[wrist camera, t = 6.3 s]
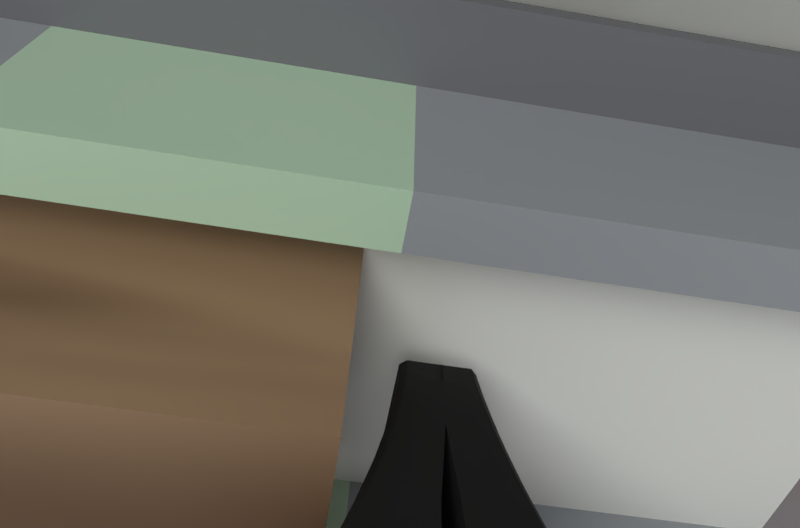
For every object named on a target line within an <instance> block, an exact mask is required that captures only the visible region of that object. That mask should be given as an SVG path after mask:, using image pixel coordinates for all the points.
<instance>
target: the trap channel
mask: <svg viewBox="0 0 800 528" xmlns="http://www.w3.org/2000/svg"><path fill="white" fill-rule="evenodd" d="M0 194H1V195H8V196H15V197H21V198H28V199H35V200H42V201H49V202H55V203H62V204H69V205H76V206H83V207H89V208H96V209H103V210H110V211H117V212H123V213H130V214H137V215H144V216H151V217H157V218H164V219H171V220H178V221H184V222H191V223H198V224H205V225H212V226H218V227H225V228H232V229H239V230H246V231H252V232H259V233H266V234H273V235H280V236H286V237H293V238H300V239H307V240H314V241H320V242H327V243H334V244H341V245H348V246H354V247H361V248H364V251H363V259H362V268H361V276H360V284H359V293H358V301H357V309H356V318H355V326H354V334H353V343H352V351H351V359H350V368H349V376H348V384H347V393H346V401H345V409H344V418H343V426H342V434H341V441H340V447H339V453H338V459H337V465H336V471H335V477H334V482H333V488H332V494H331V500H330V506H329V512H328V518H327V524H326V528H340V527H341V525H342V524H343V522H344V520H345V518H346V516H347V514H348V512H349V510H350V508H351V506H352V505H353V503H354V501H355V499H356V496H357V494H358V492H359V490H360V488H361V486H362V484H363V481H364V479H365V477H366V475H367V473H368V471H369V469H370V466H371V464H372V462H373V460H374V457H375V455H376V452H377V450H378V447H379V444H380V442H381V439H382V436H383V434H384V431H385V426H386V422H387V417H388V413H389V408H390V403H391V399H392V394H393V390H394V385H395V381H396V376H397V372H398V367H399V364H400V363H402V362H404V361H406V360H409V361H417V362H424V363H431V364H439V365H446V366H453V367H460V368H468V369H472V370H473V372H474V373H475V374H476V376H477V379H478V382H479V385H480V388H481V391H482V394H483V396H484V399H485V401H486V404H487V407H488V409H489V412H490V414H491V417H492V419H493V421H494V424H495V426H496V428H497V431H498V433H499V435H500V438H501V440H502V442H503V444H504V446H505V449H506V451H507V453H508V455H509V457H510V459H511V461H512V463H513V465H514V467H515V469H516V471H517V473H518V475H519V477H520V480H521V482H522V484H523V485H524V487H525V489H526V491H527V493H528V495H529V497H530V499H531V501H532V503H533V504H534V506H535V508H536V510H537V511H538V513H539V515H540V517H541V519H542V520H543V522H544V524H545V526H546V528H800V52H798V51H792V50H786V49H780V48H775V47H769V46H763V45H757V44H751V43H746V42H740V41H734V40H728V39H723V38H717V37H711V36H705V35H700V34H694V33H688V32H682V31H677V30H671V29H665V28H659V27H654V26H648V25H642V24H636V23H630V22H625V21H619V20H613V19H607V18H602V17H596V16H590V15H584V14H579V13H573V12H567V11H561V10H556V9H550V8H544V7H538V6H533V5H527V4H521V3H515V2H509V1H504V0H0Z"/></svg>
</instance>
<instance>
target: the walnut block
mask: <svg viewBox="0 0 800 528" xmlns="http://www.w3.org/2000/svg"><path fill="white" fill-rule="evenodd" d="M363 251H364V248H361V247H354V246H348V245H341V244H334V243H327V242H320V241H314V240H307V239H300V238H293V237H286V236H280V235H273V234H266V233H259V232H252V231H246V230H239V229H232V228H225V227H218V226H212V225H205V224H198V223H191V222H184V221H178V220H171V219H164V218H157V217H151V216H144V215H137V214H130V213H123V212H117V211H110V210H103V209H96V208H89V207H83V206H76V205H69V204H62V203H55V202H49V201H42V200H35V199H28V198H21V197H15V196H8V195H1V194H0V528H326V524H327V518H328V512H329V506H330V500H331V494H332V488H333V482H334V477H335V471H336V465H337V459H338V453H339V447H340V441H341V434H342V426H343V418H344V409H345V401H346V393H347V384H348V376H349V368H350V359H351V351H352V343H353V334H354V326H355V318H356V309H357V301H358V293H359V284H360V276H361V268H362V259H363Z"/></svg>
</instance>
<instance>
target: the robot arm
mask: <svg viewBox="0 0 800 528" xmlns="http://www.w3.org/2000/svg"><path fill="white" fill-rule="evenodd" d="M340 528H546V526H545V524H544V522H543V520H542V519H541V517H540V515H539V513H538V511H537V510H536V508H535V506H534V504H533V503H532V501H531V499H530V497H529V495H528V493H527V491H526V489H525V487H524V485H523V484H522V482H521V480H520V477H519V475H518V473H517V471H516V469H515V467H514V465H513V463H512V461H511V459H510V457H509V455H508V453H507V451H506V449H505V446H504V444H503V442H502V440H501V438H500V435H499V433H498V431H497V428H496V426H495V424H494V421H493V419H492V417H491V414H490V412H489V409H488V407H487V404H486V401H485V399H484V396H483V394H482V391H481V388H480V385H479V382H478V379H477V376H476V374H475V373H474V372H473V370H472V369H468V368H460V367H453V366H446V365H439V364H431V363H424V362H417V361H409V360H406V361H404V362H402V363H400V364H399V367H398V372H397V376H396V381H395V385H394V390H393V394H392V399H391V403H390V408H389V413H388V417H387V422H386V426H385V431H384V434H383V436H382V439H381V442H380V444H379V447H378V450H377V452H376V455H375V457H374V460H373V462H372V464H371V466H370V469H369V471H368V473H367V475H366V477H365V479H364V481H363V484H362V486H361V488H360V490H359V492H358V494H357V496H356V499H355V501H354V503H353V505H352V506H351V508H350V510H349V512H348V514H347V516H346V518H345V520H344V522H343V524H342V525H341V527H340Z"/></svg>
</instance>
